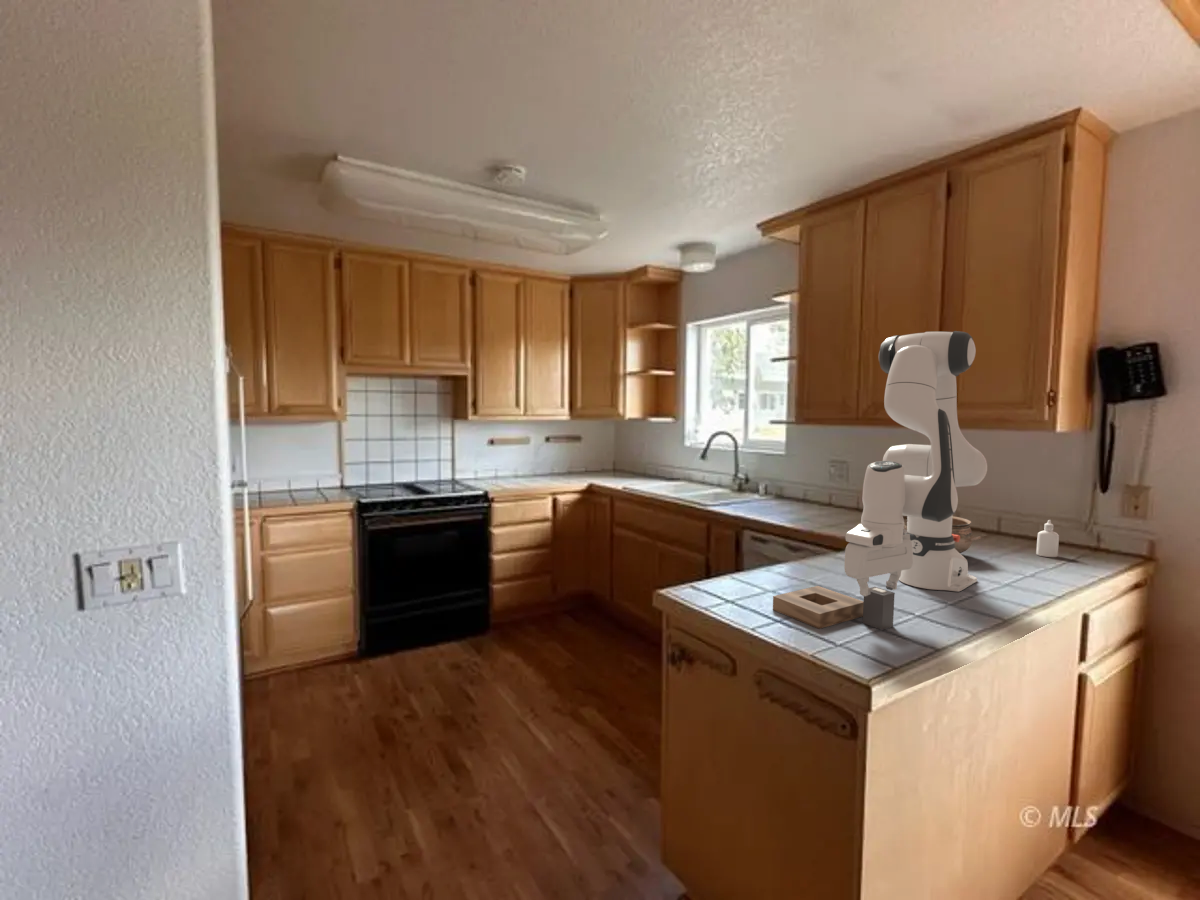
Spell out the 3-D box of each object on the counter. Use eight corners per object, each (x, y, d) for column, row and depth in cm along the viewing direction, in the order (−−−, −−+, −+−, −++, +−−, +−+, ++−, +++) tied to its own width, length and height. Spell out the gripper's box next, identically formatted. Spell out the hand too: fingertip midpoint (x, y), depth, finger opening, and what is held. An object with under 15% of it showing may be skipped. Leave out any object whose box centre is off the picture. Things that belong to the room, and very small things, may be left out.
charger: (873, 619, 143) (875, 585, 142) (892, 626, 139) (894, 591, 138) (862, 622, 141) (864, 588, 140) (881, 630, 137) (883, 594, 136)
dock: (817, 598, 157) (817, 585, 157) (864, 616, 145) (864, 601, 145) (772, 609, 149) (773, 596, 149) (818, 628, 137) (819, 613, 137)
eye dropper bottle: (1037, 553, 203) (1040, 517, 202) (1058, 556, 199) (1061, 520, 198) (1035, 555, 200) (1037, 519, 199) (1056, 558, 196) (1058, 522, 195)
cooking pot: (992, 559, 195) (995, 522, 193) (964, 569, 184) (966, 530, 183) (916, 543, 215) (917, 509, 214) (886, 551, 205) (887, 516, 204)
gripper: (896, 526, 146) (893, 582, 147) (840, 534, 136) (837, 594, 137) (922, 531, 140) (918, 589, 141) (865, 540, 130) (862, 602, 131)
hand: (878, 592), depth 139 cm, fingers open, 8 cm apart
